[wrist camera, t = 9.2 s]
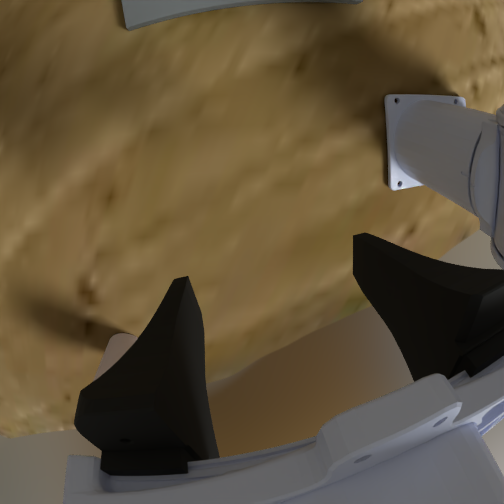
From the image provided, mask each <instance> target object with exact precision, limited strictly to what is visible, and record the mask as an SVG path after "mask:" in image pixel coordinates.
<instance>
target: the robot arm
mask: <svg viewBox="0 0 504 504" xmlns="http://www.w3.org/2000/svg"><path fill="white" fill-rule="evenodd" d="M395 98H396V99H397V102H396V103H395ZM384 101H385V113H386V127H387V146H388V186H389V188H390V189H392V190H399V189H405V188H410V187H415V186H420V185H425V186H427V187H429V188H431V189H432V190H434V191H436V192H438V193H439V194H441V195H443V196H445V197H446V198H448V199H450V200H451V201H453V202H455V203H456V204H458V205H460V206H461V207H463V208H464V209H466V210H468V211H469V212H471V213H472V214H474V215H475V216H477V217H478V218H479V220H480V230H481V231H483V232H484V233H486V234H487V235H489V236H490V237H491V252H492V255H493V257H494V259H495V261H496V262H497V264H498V265H499V266H500V267H501V268H502V269H503V270H499V269H498V270H497V269H481V268H472V267H465V266H460V265H455V264H450V263H446V262H442V261H439V260H436V259H432V258H429V257H426V256H423V255H420V254H418V253H415V252H412V251H410V250H407V249H405V248H402V247H400V246H398V245H395V244H393V243H391V242H388V241H386V240H384V239H381V238H379V237H376V236H374V235H371V234H368V233H361V234H357V235H353V275H354V277H355V279H356V281H357V283H358V285H359V286H360V288H361V290H362V292H363V293H364V294H365V296H366V297H367V299H368V300H369V301H370V303H371V304H372V306H373V307H374V308H375V310H376V311H377V312H378V314H379V315H380V316H381V318H382V319H383V320H384V322H385V323H386V325H387V326H388V328H389V330H390V331H391V333H392V334H393V336H394V338H395V340H396V342H397V344H398V346H399V348H400V350H401V352H402V354H403V357H404V359H405V361H406V363H407V365H408V368H409V370H410V372H411V375H412V377H413V380H414V382H413V383H411V384H409V385H406V386H404V387H402V388H400V389H398V390H395V391H393V392H391V393H389V394H386V395H384V396H381V397H379V398H376V399H374V400H371V401H369V402H366V403H364V404H361V405H358V406H356V407H353V408H351V409H349V410H347V411H344V412H342V413H340V414H338V415H336V416H334V417H333V418H332V419H330V420H329V421H327V422H326V423H325V424H323V426H322V427H321V429H320V431H319V433H318V434H317V436H314V437H311V438H308V439H304V440H301V441H297V442H293V443H289V444H286V445H282V446H278V447H274V448H269V449H265V450H260V451H256V452H251V453H245V454H240V455H236V456H229V457H223V458H220V457H219V452H218V448H217V444H216V439H215V435H214V430H213V425H212V420H211V414H210V409H209V403H208V396H207V390H206V381H205V344H204V327H203V320H202V313H201V310H200V307H199V305H198V302H197V299H196V297H195V294H194V291H193V288H192V286H191V283H190V280H189V277H188V276H186V277H181V278H177V279H174V280H173V282H172V284H171V285H170V287H169V289H168V291H167V293H166V295H165V297H164V299H163V300H162V302H161V304H160V306H159V307H158V309H157V311H156V313H155V314H154V316H153V317H152V319H151V321H150V322H149V324H148V325H147V327H146V328H145V330H144V331H143V332H142V334H141V335H140V336H139V338H138V339H137V340H136V341H135V343H134V344H133V345H132V346H131V347H130V348H129V349H128V350H127V351H126V353H125V354H124V355H123V356H122V357H121V358H120V359H119V360H118V361H117V362H116V363H115V364H114V365H113V366H112V367H111V368H109V369H108V370H107V371H106V372H105V373H104V374H102V375H101V376H100V377H99V378H97V379H96V380H95V381H93V382H92V383H91V384H89V385H88V386H87V387H85V388H84V389H82V390H81V391H80V395H79V399H78V404H77V409H76V414H75V419H74V425H75V427H76V429H77V430H78V431H79V432H80V434H81V435H82V436H84V437H85V438H86V439H87V440H88V441H90V442H91V443H92V444H94V445H95V446H96V447H97V448H99V449H100V450H101V451H102V455H101V459H100V458H98V457H94V456H82V455H69V456H68V460H67V468H66V476H65V486H64V499H63V504H504V476H503V474H502V473H501V470H500V469H499V467H498V465H497V463H496V461H495V459H494V458H493V456H492V454H491V452H490V450H489V449H488V447H487V445H486V443H485V442H484V440H483V439H482V435H484V434H485V433H486V432H487V431H489V430H490V429H491V428H492V427H494V426H495V425H496V424H497V423H498V422H500V421H501V420H502V419H503V418H504V104H503V105H502V106H501V107H500V108H498V109H497V111H496V115H494V114H490V113H486V112H483V111H479V110H475V109H470V108H466V104H465V99H464V98H463V97H459V96H445V95H420V94H389V95H386V96H385V100H384ZM454 101H455V103H454ZM399 181H400V184H399V185H397V184H398V182H399Z"/></svg>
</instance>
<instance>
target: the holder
mask: <svg viewBox="0 0 504 504" xmlns="http://www.w3.org/2000/svg"><path fill="white" fill-rule="evenodd" d="M287 2H328V3H347V4H358V3H361V2H363V0H122V6H123V12H124V17H125V23H126V28H127V29H128V30H129V31H131V30H134V29H137V28H140V27H144V26H147V25H150V24H154V23H157V22H161V21H165V20H169V19H173V18H177V17H181V16H186V15H190V14H195V13H200V12H206V11H211V10H217V9H223V8H230V7H238V6H246V5H256V4H269V3H287Z"/></svg>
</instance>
